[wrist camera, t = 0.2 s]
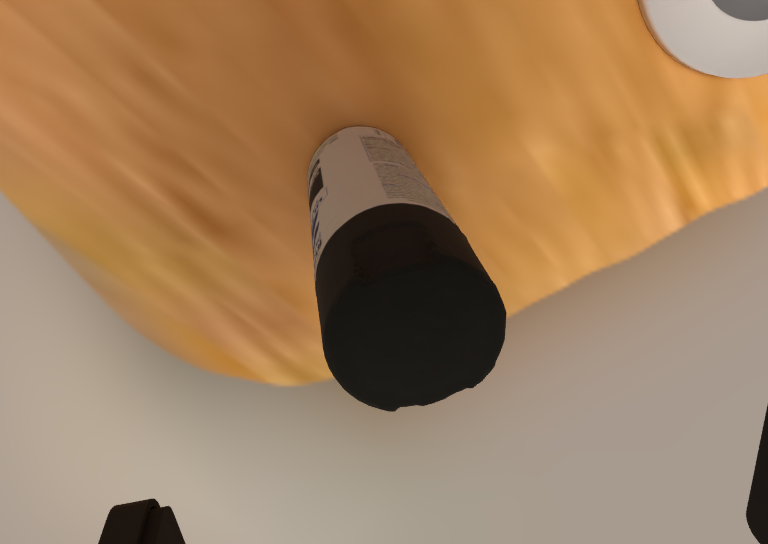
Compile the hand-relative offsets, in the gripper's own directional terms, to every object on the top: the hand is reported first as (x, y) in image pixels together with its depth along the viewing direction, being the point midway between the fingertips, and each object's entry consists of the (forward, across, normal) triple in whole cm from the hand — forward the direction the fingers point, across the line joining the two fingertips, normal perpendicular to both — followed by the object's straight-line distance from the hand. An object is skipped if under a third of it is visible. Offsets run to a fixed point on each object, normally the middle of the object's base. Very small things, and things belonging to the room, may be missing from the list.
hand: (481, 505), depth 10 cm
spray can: (+31, 0, +4) cm, 31 cm away
